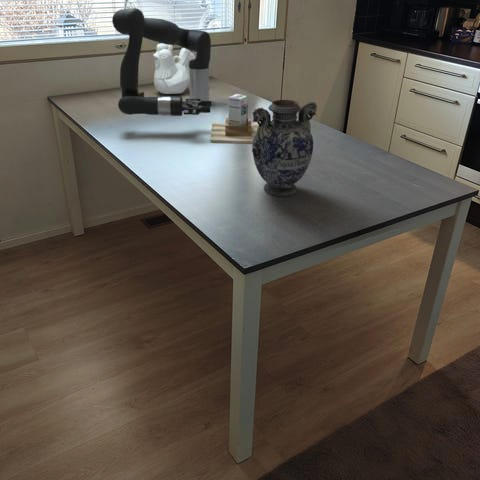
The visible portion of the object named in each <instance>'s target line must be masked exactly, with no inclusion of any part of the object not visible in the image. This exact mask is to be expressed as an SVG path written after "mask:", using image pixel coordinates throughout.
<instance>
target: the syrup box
mask: <svg viewBox="0 0 480 480" xmlns="http://www.w3.org/2000/svg"><path fill="white" fill-rule="evenodd" d="M248 99H249V97H248V95H245V94H240V93H239V94H238V93H235V94H234V95H231V96H228V99H227V100H228V118H229V125H247V120H248V117H249V116H248V115H249V114H248V111H249V110H248V109H249V108H248V107H249V106H248V104H249V103H248V102H249V101H248Z"/></svg>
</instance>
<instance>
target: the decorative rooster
mask: <svg viewBox="0 0 480 480" xmlns="http://www.w3.org/2000/svg"><path fill="white" fill-rule="evenodd" d="M173 46H174V45H167V44H163V43H158V44H157V45H156V51H155V53H153V55H152V56H153V58H154V66H155V70H154V75H153V85H154V87H155V89H156V90H157V91H158V92H160V93H161V94H164V95H165V94H167V95H171V94H172V95H173V94H174V95H176V94H184V93H183V92H185V90H186V89H187V88H188V87H189V61H190V60H193V59H195V58H196V56H195V54H194V52H192V51H190V50H188V49H185V48H183V47H181V49H180V51H179V55H174V56H173V49H174V47H173ZM176 59H177V62H175V60H176Z"/></svg>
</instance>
